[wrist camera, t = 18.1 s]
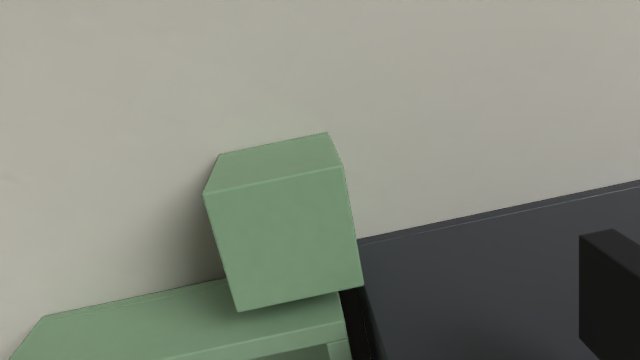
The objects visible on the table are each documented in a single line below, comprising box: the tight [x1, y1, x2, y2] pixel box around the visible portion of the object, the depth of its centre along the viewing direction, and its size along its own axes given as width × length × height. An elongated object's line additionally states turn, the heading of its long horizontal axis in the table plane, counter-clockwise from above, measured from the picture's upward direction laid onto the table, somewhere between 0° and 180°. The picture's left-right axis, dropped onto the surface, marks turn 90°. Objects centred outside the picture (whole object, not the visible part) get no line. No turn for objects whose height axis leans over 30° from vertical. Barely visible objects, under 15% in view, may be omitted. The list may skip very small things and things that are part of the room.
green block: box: [202, 132, 364, 312], centre depth 17 cm, size 4×4×4 cm
